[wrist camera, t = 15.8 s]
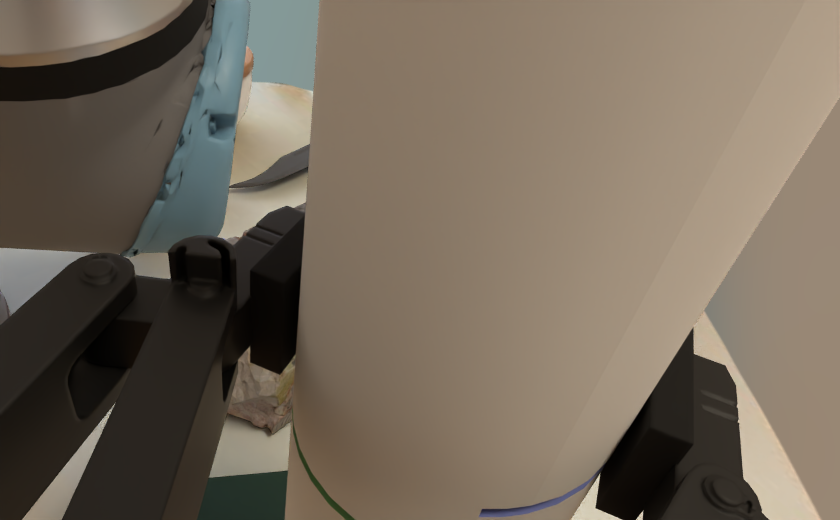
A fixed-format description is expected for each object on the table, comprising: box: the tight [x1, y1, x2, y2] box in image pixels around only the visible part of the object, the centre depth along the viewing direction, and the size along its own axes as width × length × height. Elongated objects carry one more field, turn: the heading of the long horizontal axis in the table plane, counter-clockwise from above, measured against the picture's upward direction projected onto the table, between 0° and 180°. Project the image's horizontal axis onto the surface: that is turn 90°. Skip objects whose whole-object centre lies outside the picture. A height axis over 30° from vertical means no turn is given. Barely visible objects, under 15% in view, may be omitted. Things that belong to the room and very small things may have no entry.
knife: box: [229, 144, 310, 188], centre depth 59 cm, size 25×2×5 cm
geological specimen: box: [170, 203, 306, 435], centre depth 39 cm, size 11×6×15 cm
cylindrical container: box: [285, 0, 840, 520], centre depth 13 cm, size 7×7×25 cm
